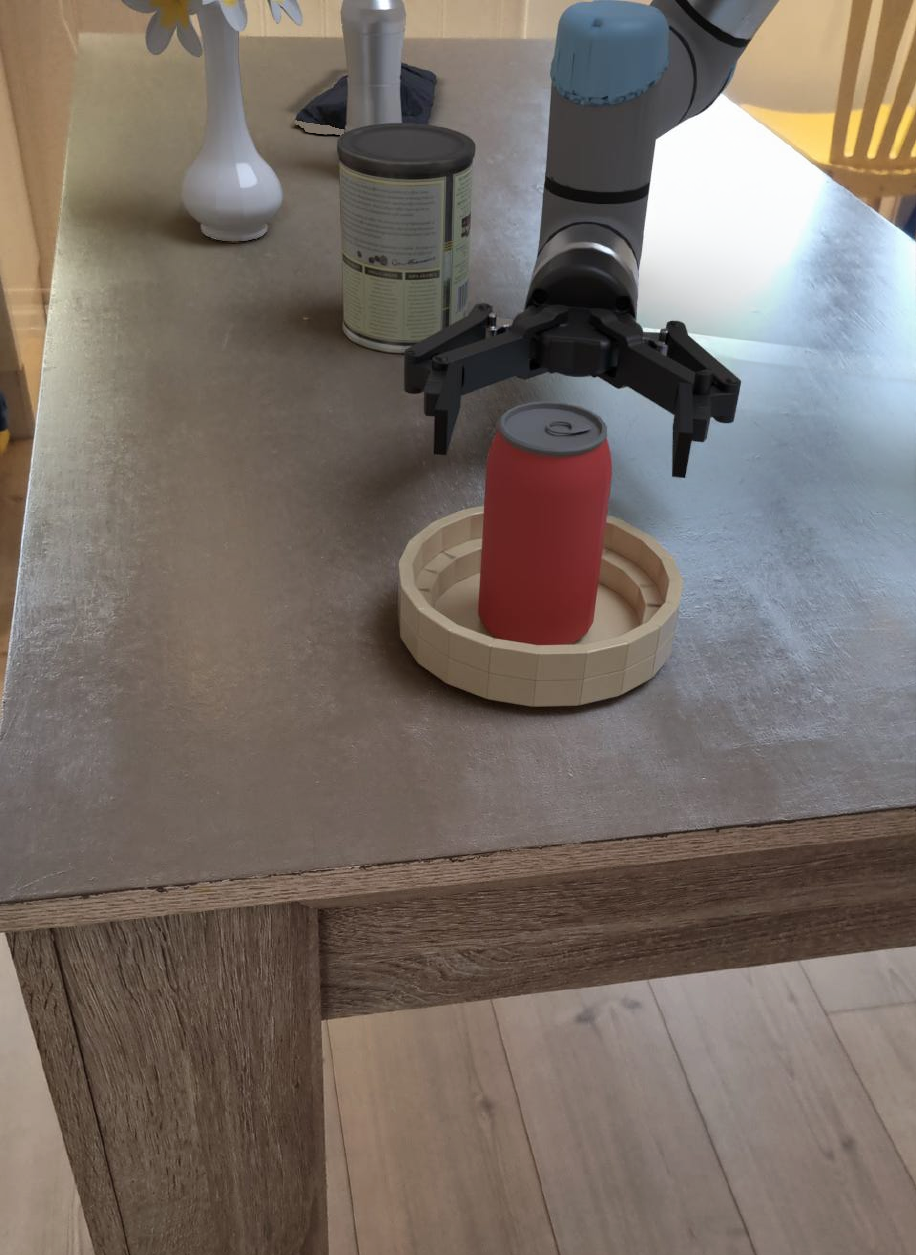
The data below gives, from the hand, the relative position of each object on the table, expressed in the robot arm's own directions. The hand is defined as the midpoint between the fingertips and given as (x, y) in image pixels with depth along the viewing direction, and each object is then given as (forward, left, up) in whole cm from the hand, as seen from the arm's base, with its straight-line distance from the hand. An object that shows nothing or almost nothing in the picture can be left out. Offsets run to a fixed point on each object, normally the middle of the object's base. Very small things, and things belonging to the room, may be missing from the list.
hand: (560, 444), depth 73 cm
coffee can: (+18, -34, -9) cm, 40 cm away
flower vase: (+38, -51, -9) cm, 64 cm away
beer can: (0, +6, -8) cm, 10 cm away
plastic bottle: (+31, -72, -9) cm, 79 cm away
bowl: (0, +6, -9) cm, 11 cm away
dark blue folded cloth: (+37, -95, -9) cm, 103 cm away
